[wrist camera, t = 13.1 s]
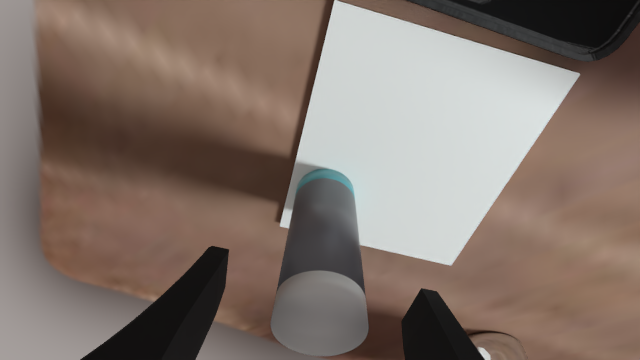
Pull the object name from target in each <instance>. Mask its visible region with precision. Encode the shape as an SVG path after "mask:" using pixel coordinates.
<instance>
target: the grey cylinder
mask: <svg viewBox="0 0 640 360" xmlns="http://www.w3.org/2000/svg"><path fill="white" fill-rule="evenodd" d="M271 330H272V333H273V335H274V336H275V338H276V339H277V340H278V341H279V342H280V343H281V344H282V345H284V346H285V347H287V348H289V349H291V350H293V351H296V352H298V353H302V354H306V355H311V356H333V355H339V354H343V353H346V352H348V351H351V350H353V349H354V348H356V347H358V346H359V345H360V344H361V343H362V342H363V341H364V340H365V338H366V337H367V334H368V330H369V325H368V316H367V306H366V297H365V288H364V279H363V269H362V260H361V251H360V242H359V232H358V223H357V214H356V205H355V195H354V188H353V185H352V183H351V182H350V180H349V179H348V178H347V177H346V176H345V175H344V174H342V173H340V172H338V171H336V170H332V169H317V170H314V171H311V172H309V173H308V174H306V175H305V176H304V177H303V178H302V179H301V180H300V181H299V183H298V186H297V189H296V195H295V200H294V205H293V210H292V215H291V220H290V225H289V231H288V236H287V241H286V246H285V251H284V256H283V261H282V267H281V272H280V277H279V282H278V287H277V292H276V297H275V303H274V308H273V313H272V318H271Z"/></svg>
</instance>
